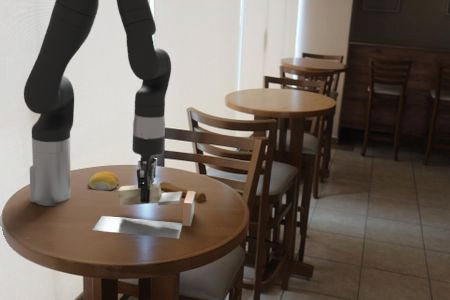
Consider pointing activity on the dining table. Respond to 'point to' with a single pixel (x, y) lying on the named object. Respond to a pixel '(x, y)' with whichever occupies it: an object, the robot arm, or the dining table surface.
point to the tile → (188, 208)
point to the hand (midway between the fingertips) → (146, 199)
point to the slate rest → (138, 227)
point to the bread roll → (103, 181)
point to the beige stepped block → (132, 195)
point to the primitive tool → (172, 188)
